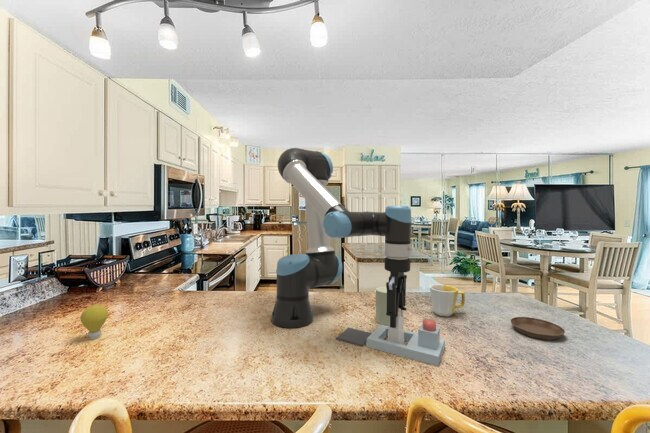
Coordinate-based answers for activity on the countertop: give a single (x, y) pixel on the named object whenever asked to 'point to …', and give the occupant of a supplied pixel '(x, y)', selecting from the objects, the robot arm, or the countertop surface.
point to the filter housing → (411, 344)
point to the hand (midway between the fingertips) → (396, 334)
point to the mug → (445, 299)
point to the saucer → (537, 328)
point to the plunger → (429, 325)
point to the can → (381, 306)
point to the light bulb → (94, 320)
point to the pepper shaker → (401, 331)
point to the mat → (354, 336)
